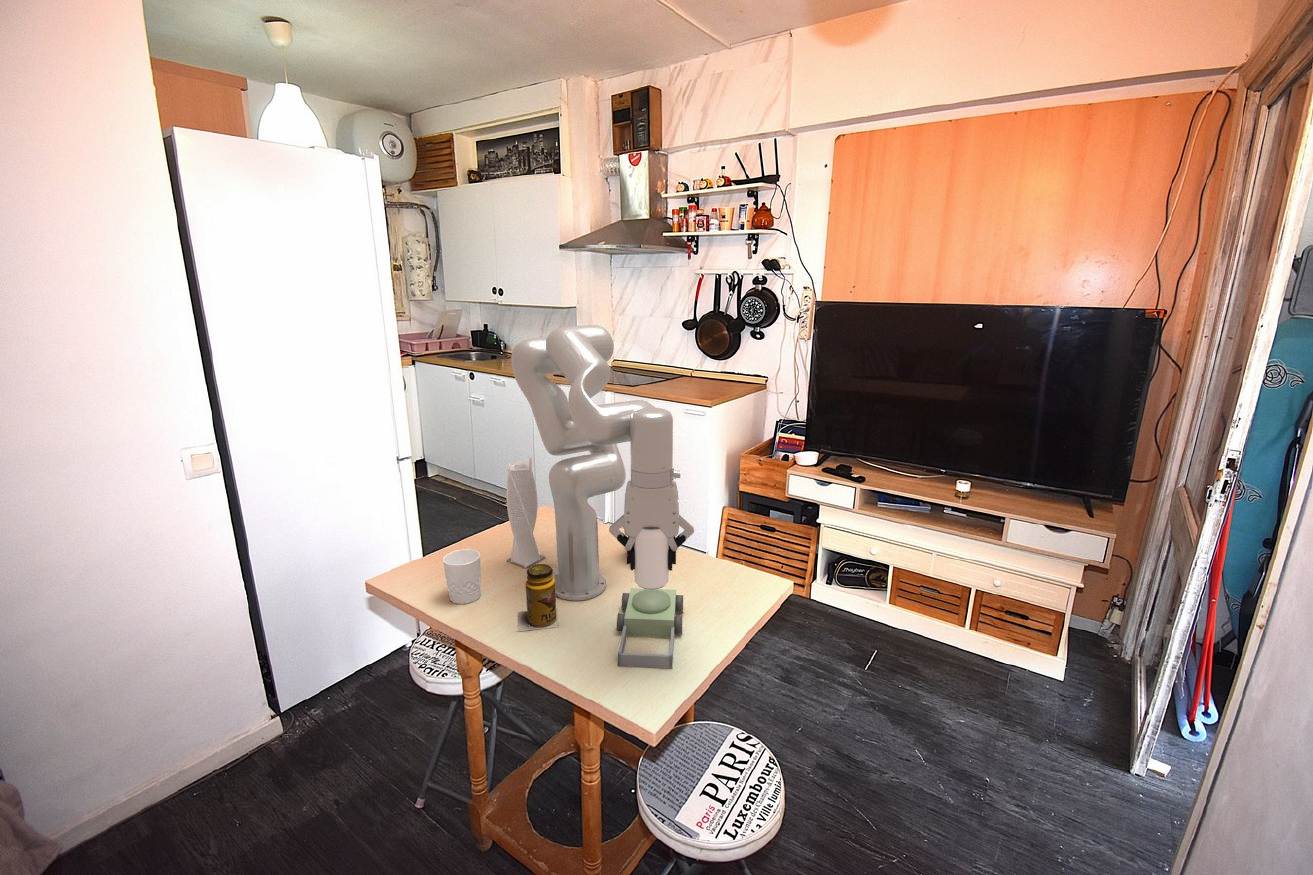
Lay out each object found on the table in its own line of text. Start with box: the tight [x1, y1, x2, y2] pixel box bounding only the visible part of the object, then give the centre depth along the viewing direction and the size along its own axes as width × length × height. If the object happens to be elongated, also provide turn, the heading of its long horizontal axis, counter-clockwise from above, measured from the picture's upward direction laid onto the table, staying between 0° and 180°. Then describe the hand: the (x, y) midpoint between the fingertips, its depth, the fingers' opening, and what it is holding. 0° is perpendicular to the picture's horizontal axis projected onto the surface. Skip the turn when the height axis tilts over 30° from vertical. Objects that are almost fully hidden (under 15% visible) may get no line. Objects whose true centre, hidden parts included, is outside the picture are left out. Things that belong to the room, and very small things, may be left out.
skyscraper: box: [506, 457, 547, 570], centre depth 144 cm, size 8×8×28 cm
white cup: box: [442, 548, 482, 605], centre depth 130 cm, size 8×8×10 cm
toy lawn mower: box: [616, 587, 684, 670], centre depth 117 cm, size 13×22×5 cm, turn 176°
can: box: [633, 528, 670, 589], centre depth 108 cm, size 6×6×12 cm
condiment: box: [517, 563, 560, 633], centre depth 121 cm, size 7×8×12 cm
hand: (651, 566), depth 108 cm, fingers closed on can, 6 cm apart
